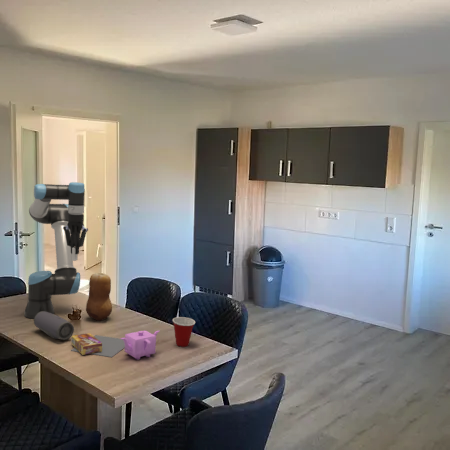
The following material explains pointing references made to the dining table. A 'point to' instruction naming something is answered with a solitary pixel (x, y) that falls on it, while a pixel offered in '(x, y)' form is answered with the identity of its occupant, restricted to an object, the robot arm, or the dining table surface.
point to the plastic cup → (183, 330)
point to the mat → (108, 346)
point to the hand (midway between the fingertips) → (74, 260)
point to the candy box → (86, 344)
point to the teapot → (140, 343)
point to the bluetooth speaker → (53, 325)
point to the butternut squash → (99, 297)
